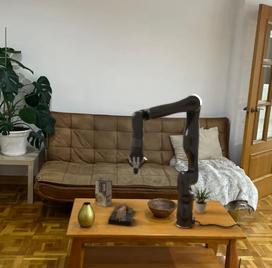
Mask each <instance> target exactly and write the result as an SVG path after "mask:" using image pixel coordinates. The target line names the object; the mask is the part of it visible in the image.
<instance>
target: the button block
mask: <svg viewBox="0 0 272 268" xmlns="http://www.w3.org/2000/svg"><path fill="white" fill-rule="evenodd" d="M120 208H121V204H119V205H116V206H115V207H114V209H113V211H112V213H117V210H119V209H120ZM133 212H134V207H130V206H129V205H127V206H126V214H132V215H133Z"/></svg>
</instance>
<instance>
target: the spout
mask: <svg viewBox="0 0 272 268" xmlns="http://www.w3.org/2000/svg"><path fill="white" fill-rule="evenodd" d="M125 215H126V207H125V206H123V207H121V208H120V209H119V210H117V219H119V220H120V219H121V218H122V217H124V216H125Z"/></svg>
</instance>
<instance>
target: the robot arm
mask: <svg viewBox="0 0 272 268" xmlns="http://www.w3.org/2000/svg"><path fill="white" fill-rule="evenodd" d="M202 105H203V101H202V98H201V97H200V96H199V95H197V94H190V95H188V96H187V97H184V98H181V99H180V100H177V101H174V102H170V103H169V102H168V103H164V104H163V103H162V104H159V105H155V106H151V107H149V108H142V109H139V110H136V111H134V112H133V113H132V114H131V119H130V120H131V121H130V123H131V138H130V139H131V140H130V153H129V154H128V156H127V157H125V161H126V163H127V164H128V165H129V166H130V167H131V168H133V170H132V171H133V174H134V175H138V174H139V171H140V170H139V169H140V168H141V169H142V168H143V166H144V165H145V164H146V163H147V162H148V158H146V157H145V155H144V151H145V128H144V122H147V121H150V120H157V119H161V118H165V117H168V116H173V115H175V114H181V113H185V117H186V118H185V124H184V127H183V133H182V150H183V152H184V154H185V156H186V158H187V159H186V160H187V169H182V170H180V171H178V173H177V178H176V179H177V180H176V192H177V201H176V213H175V219H174V220H175V224H174V225H175V227H178V228H180V229H192V225H196V223H198V225H199V226H201V227H209V226H215V227H220V228H224V229H231V228H233V227H235V226H237V227H239V228H241V225H240V224H238V223H235V224H232V225H230V226H229V225H228V226H225V225H221V224H216V223H208V224H207V223H206V224H202V223H201V221H199V220H196V216H194V202H195V201H194V200H195V197H194V196H195V192H194V191H193V190H190V187H191V186H195V185H196V184H198V182H199V179H200V178H199V177H200V173H199V172H200V170H199V151H200V150H199V149H200V116H201V109H202ZM241 262H242V258H239V262H238V268H241Z"/></svg>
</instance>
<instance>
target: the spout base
mask: <svg viewBox="0 0 272 268" xmlns="http://www.w3.org/2000/svg"><path fill="white" fill-rule="evenodd" d="M134 215H135V214H133V213H132V214H126V215H125V216H124V217H122V218H121V219H120V220H119V219H117V213H113V212H111V213H110V215H109V217H108V220H107V221H108V222H107V224H108V225H111V226H112V225H113V226H123V227H132V225H133V222H134Z"/></svg>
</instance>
